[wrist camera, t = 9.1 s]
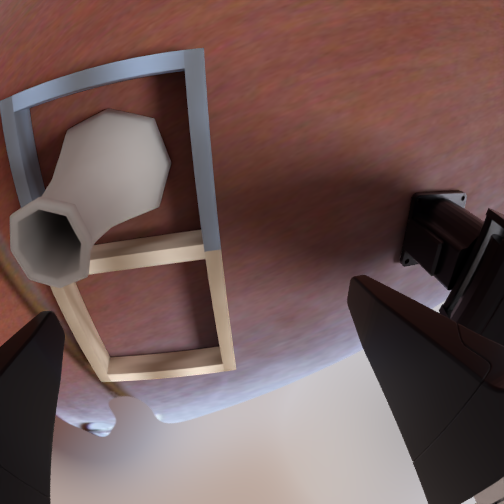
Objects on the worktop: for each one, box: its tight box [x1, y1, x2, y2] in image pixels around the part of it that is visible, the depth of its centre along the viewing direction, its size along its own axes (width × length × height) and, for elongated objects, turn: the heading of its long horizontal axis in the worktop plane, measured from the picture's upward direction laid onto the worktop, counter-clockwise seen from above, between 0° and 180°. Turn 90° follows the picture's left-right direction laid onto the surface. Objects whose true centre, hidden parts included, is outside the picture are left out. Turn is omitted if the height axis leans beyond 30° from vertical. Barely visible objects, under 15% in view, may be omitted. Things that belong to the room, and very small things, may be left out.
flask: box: [10, 108, 171, 288], centre depth 12 cm, size 7×7×10 cm
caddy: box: [0, 48, 236, 382], centre depth 19 cm, size 12×23×2 cm, turn 3°
